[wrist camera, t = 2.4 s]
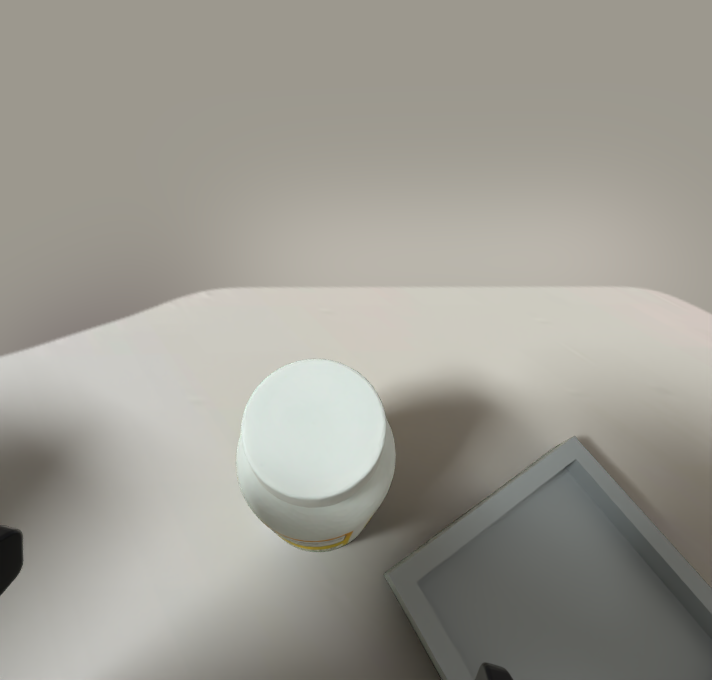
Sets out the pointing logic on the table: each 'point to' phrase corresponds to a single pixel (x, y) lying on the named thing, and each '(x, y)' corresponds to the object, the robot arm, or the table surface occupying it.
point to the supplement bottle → (315, 453)
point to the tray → (558, 584)
